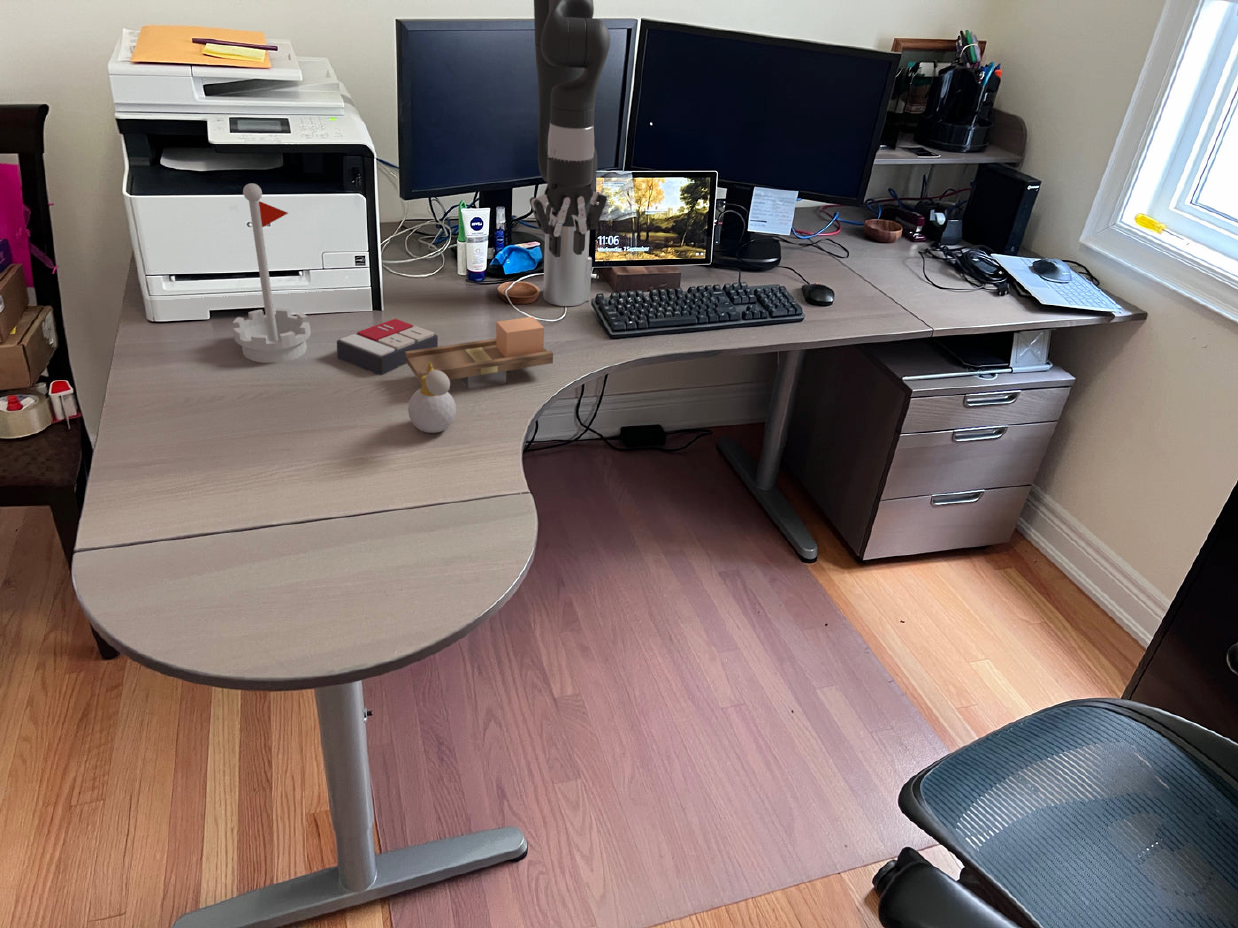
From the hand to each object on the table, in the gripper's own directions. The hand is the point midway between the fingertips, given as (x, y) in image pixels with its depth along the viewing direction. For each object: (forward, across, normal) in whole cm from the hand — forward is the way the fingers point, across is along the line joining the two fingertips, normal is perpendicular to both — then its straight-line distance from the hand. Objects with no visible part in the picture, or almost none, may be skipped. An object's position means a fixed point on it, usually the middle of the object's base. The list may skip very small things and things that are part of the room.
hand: (566, 254), depth 157 cm
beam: (+21, +16, 0) cm, 27 cm away
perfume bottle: (+21, +29, +15) cm, 39 cm away
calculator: (+22, +28, -15) cm, 39 cm away
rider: (+17, +8, 0) cm, 19 cm away
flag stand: (+21, +47, -23) cm, 57 cm away
